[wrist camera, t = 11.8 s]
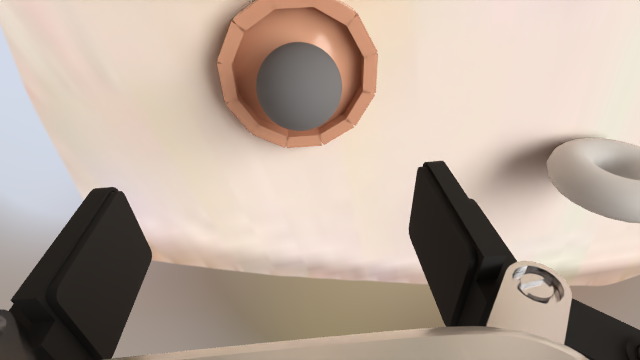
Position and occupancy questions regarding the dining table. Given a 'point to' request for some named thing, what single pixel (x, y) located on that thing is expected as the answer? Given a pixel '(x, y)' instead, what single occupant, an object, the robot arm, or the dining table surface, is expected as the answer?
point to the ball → (299, 86)
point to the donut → (599, 176)
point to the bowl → (286, 27)
